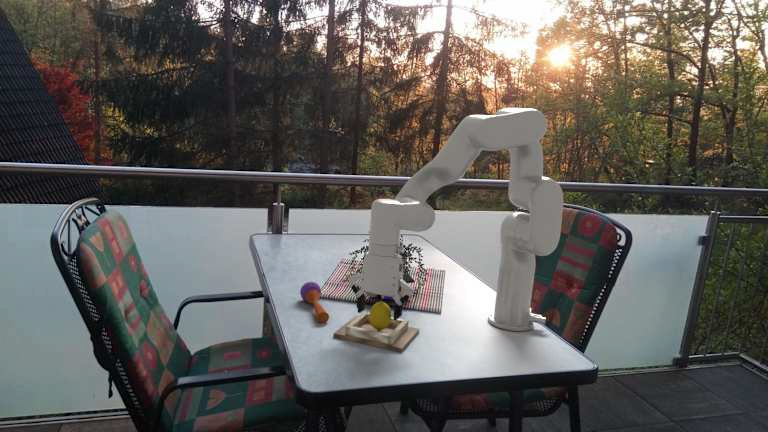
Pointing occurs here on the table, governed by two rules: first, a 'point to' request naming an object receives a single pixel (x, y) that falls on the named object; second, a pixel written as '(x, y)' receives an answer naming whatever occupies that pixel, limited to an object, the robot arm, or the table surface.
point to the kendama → (314, 300)
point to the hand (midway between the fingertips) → (378, 314)
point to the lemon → (380, 315)
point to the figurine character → (406, 278)
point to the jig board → (378, 333)
